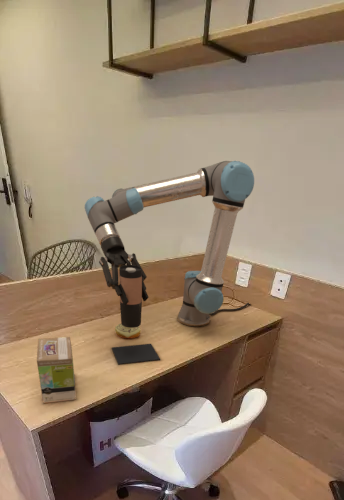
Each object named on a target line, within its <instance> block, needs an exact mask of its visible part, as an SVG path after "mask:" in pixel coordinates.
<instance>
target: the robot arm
mask: <svg viewBox="0 0 344 500" xmlns="http://www.w3.org/2000/svg"><path fill="white" fill-rule="evenodd" d="M254 187H255V176H254V172H253V170H252V168H251V167H250V165H248V164H247V163H245V162H243V161H240V160H223V161H219V162H217V163H214V164H211V165H208V166H205V167H201V168H199V169H198V170H197V172H193V173H188V174H184V175H180V176H175V177H171V178H170V177H169V178H166V179H162V180H157V181H151V182H148V183H144V184H143V183H142V184H140V185H135V186H132V187H126V188H118V189H117V188H116V190H114V192H113V193H112V195H111V198H108V199H106V200H105V199H104V198H103V197H101V196H98V195H97V196H92V197H90V198H88V199H87V200H86V202H85V203H84V212H85V213H86V216H87V220H88V221H89V224H90V226H91V229H92V230H93V232H94V234H95V236H96V239H97V241H98V244H99V246H100V249H101V251H102V254H103V255H104V256H101V257H100V258H99V261H98V264H99V265H100V267H101V268H102V272H103V276H104V279H105V282H106V286H107V288H111V289H112V290H114V291H115V293H116V295H117V297H119V299H120V298H121V300H122V302H123V305H126V304H127V303H128V302H129V301H128V299H127V296H126V294H125V292H124V289H123V287H122V285H121V284H120V281H119V268H120V266H123V265H136V266H140V267H141V268H142V265H141V264H140V263H139V261H138V259H137V256H136V253H134V252H133V253H132V254H129V253H128V252H126V248H125V245H124V242H123V240H122V238H121V236H120V233H119V231H118V229H117V227H116V223H119V222H120V221H123V220H126V219H128V218H129V217H132V216H134V215H138V213H141V212H142V211H143V210H144V208H148V207H152V206H156V205H161V204H166V203H170V202H175V201H180V200H184V199H188V198H193V197H197V196H201V197H202V198H205V197H212V200H211V203H212V205H213V207H214V210H213V215H212V220H211V224H210V229H209V233H208V238H207V242H206V246H205V251H204V256H203V261H202V266H201V269H200V270H188V271H186V272H185V273H184V279H183V281H184V283H183V294H182V295H183V296H182V305H181V307H180V309H179V311H178V314H177V321H178V322H179V323H180V324H182V325H184V326H188V327H194V328H196V327H197V328H198V327H205V326H207V325H209V324H210V321H211V320H210V319H211V316H214V315H216V314H218V313H220V312H235V311H239V310H242V309H244V308H246V307H247V306H252V304H251V303H250V302H247V303H245V304H244V305H242V306H240V307H237V308H221V307H222V306H223V303H224V299H225V298H224V294H223V292H222V291H223V287H224V284H225V280H224V279H223V277H222V276H223V272H224V268H225V264H226V260H227V256H228V252H229V248H230V246H231V245H230V244H231V240H232V236H233V232H234V228H235V225H236V221H237V216H238V213H239V212H240V211H241V210H243V209H244V205H245V203H246V202H245V201H246V199H248V198H249V197H250V196H251V194H252V192H253V190H254ZM109 264H110V265H111V266H110V267H111V268H110V267H109ZM147 278H148V276H147V274H146V272H145V271H144V269H143V268H142V302H146V301H147V300H148V299H149V298H150V297H149V295H148V292H147V287H146V284H145V281H146V279H147ZM249 303H250V304H249Z"/></svg>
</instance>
